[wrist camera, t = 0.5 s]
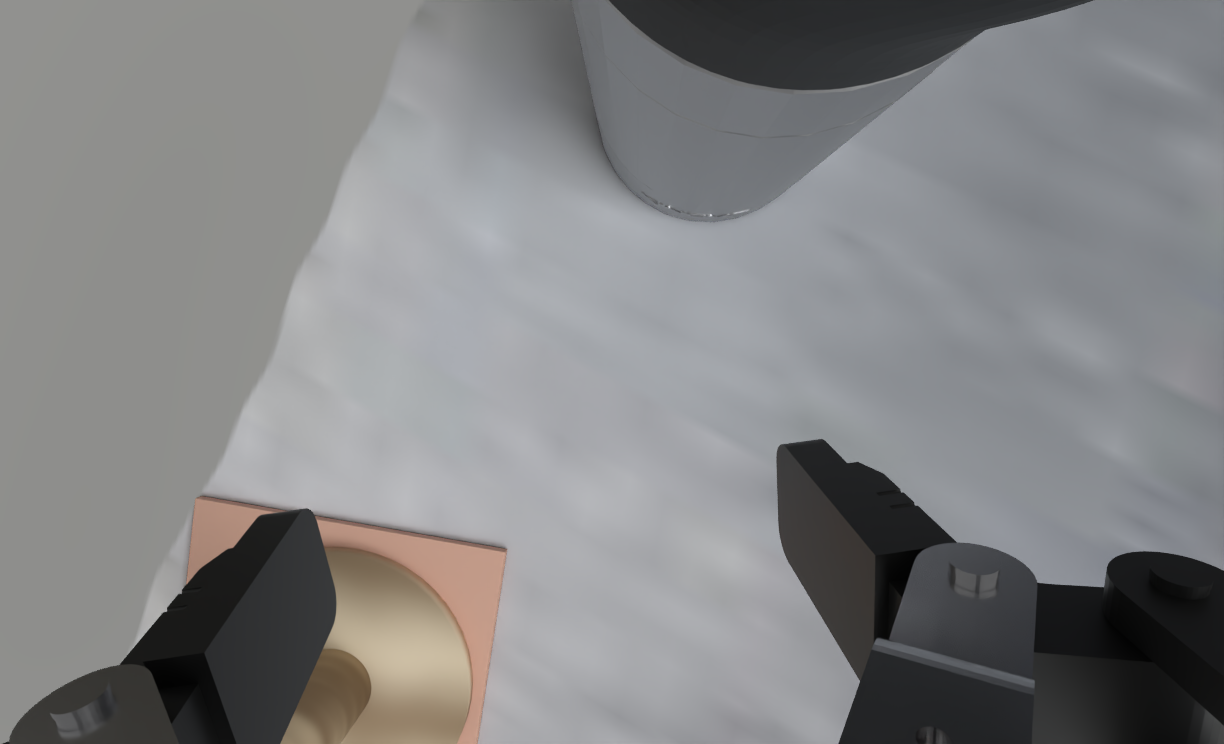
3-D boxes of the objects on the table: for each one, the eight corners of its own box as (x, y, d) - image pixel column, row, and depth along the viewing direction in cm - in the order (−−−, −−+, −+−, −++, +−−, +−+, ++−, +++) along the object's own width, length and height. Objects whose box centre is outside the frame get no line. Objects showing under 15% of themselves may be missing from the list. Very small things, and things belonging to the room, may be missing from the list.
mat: (201, 495, 31) (195, 498, 30) (507, 549, 30) (505, 552, 30) (172, 764, 32) (166, 769, 32) (466, 817, 32) (463, 824, 31)
